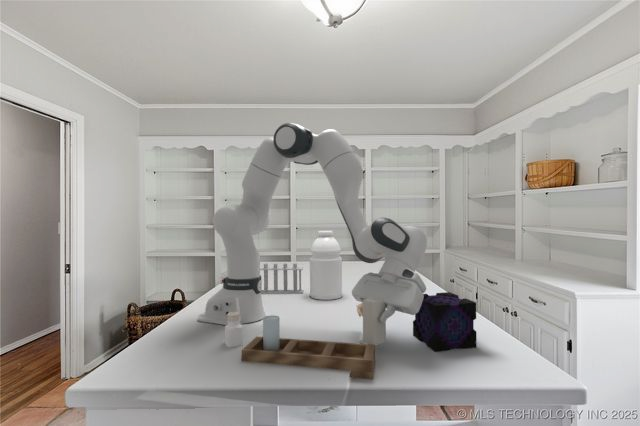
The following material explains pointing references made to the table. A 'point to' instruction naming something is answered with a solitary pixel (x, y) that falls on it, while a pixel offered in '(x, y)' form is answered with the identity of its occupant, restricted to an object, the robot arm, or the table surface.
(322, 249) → the bottle
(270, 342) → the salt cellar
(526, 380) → the table surface
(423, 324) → the energy cube
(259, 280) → the robot arm
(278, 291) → the test tube rack
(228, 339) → the pepper shaker
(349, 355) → the rack
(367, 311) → the clay block
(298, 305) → the table surface
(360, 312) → the fish fossil
